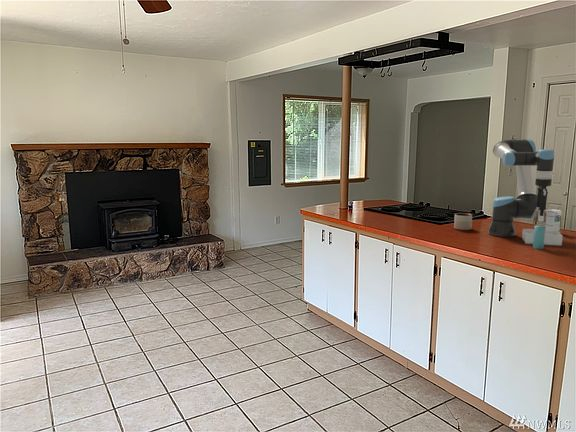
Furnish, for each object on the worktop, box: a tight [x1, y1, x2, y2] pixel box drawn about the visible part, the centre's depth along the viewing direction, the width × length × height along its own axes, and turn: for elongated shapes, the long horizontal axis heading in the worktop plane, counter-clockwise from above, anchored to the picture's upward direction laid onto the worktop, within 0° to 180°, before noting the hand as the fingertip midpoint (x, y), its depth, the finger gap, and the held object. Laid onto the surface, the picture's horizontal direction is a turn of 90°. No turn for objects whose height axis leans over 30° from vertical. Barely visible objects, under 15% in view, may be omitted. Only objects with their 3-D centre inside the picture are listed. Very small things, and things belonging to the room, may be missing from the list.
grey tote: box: [521, 228, 564, 247], centre depth 246 cm, size 18×14×6 cm
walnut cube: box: [533, 211, 547, 223], centre depth 238 cm, size 5×5×5 cm
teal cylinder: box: [532, 224, 546, 250], centre depth 233 cm, size 5×5×12 cm
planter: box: [453, 212, 473, 231], centre depth 285 cm, size 11×11×10 cm
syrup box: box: [545, 209, 563, 234], centre depth 267 cm, size 6×6×14 cm
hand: (539, 220), depth 238 cm, fingers closed on walnut cube, 5 cm apart
